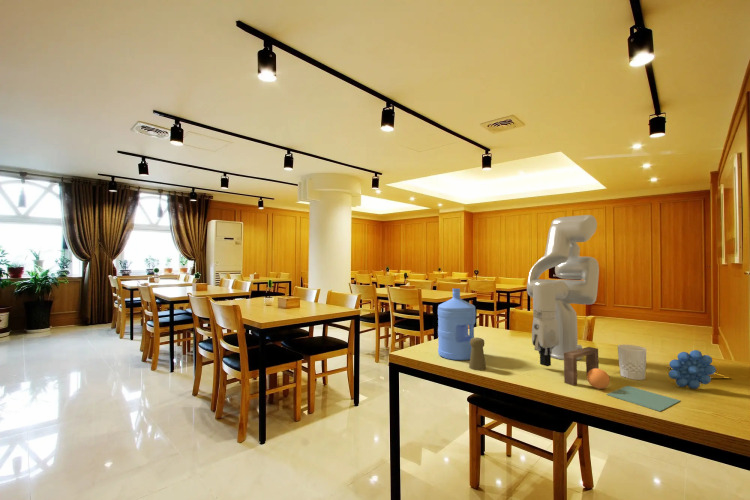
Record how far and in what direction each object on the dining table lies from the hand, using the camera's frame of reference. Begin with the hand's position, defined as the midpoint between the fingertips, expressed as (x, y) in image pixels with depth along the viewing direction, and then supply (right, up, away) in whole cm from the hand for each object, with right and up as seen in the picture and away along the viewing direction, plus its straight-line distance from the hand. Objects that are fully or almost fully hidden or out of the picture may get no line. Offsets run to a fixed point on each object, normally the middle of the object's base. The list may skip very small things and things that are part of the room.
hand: (545, 365), depth 124 cm
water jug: (-28, -2, +18) cm, 34 cm away
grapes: (+36, -1, -19) cm, 41 cm away
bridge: (+6, -1, -11) cm, 13 cm away
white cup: (+26, -1, -8) cm, 27 cm away
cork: (-24, -2, +2) cm, 24 cm away
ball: (+7, +2, -18) cm, 20 cm away
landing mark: (+15, -1, -26) cm, 30 cm away
